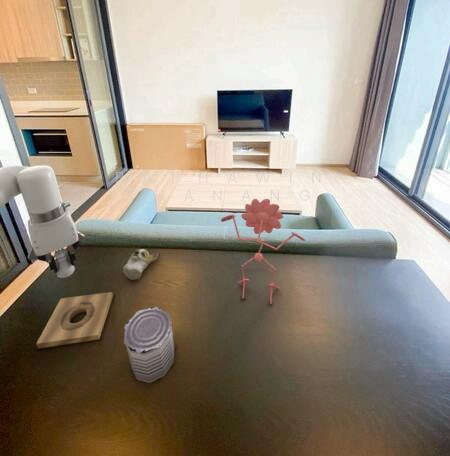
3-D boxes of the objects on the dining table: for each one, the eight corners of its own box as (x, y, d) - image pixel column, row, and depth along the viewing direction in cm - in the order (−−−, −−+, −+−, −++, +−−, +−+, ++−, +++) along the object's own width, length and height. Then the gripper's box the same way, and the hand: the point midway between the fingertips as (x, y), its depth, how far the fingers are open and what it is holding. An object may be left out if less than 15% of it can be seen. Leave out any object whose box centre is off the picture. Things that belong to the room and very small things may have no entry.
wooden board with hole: (38, 348, 67) (36, 343, 67) (62, 302, 80) (60, 298, 80) (99, 339, 69) (97, 334, 69) (113, 296, 82) (112, 291, 82)
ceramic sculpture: (112, 262, 85) (136, 236, 99) (115, 282, 87) (138, 254, 101) (139, 267, 83) (160, 240, 97) (141, 287, 85) (161, 258, 99)
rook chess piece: (65, 266, 74) (58, 244, 71) (78, 267, 73) (72, 246, 70) (53, 278, 69) (46, 256, 67) (67, 279, 69) (60, 257, 66)
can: (129, 345, 68) (122, 315, 63) (170, 328, 72) (166, 298, 68) (132, 393, 58) (125, 360, 54) (179, 369, 62) (175, 337, 58)
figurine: (298, 312, 76) (310, 217, 64) (218, 296, 82) (215, 206, 69) (296, 273, 90) (306, 189, 78) (228, 262, 96) (227, 182, 83)
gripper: (80, 196, 72) (92, 246, 78) (7, 217, 62) (28, 272, 68) (85, 207, 66) (98, 260, 72) (5, 231, 56) (29, 290, 63)
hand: (64, 265), depth 70 cm, fingers closed on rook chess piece, 3 cm apart
